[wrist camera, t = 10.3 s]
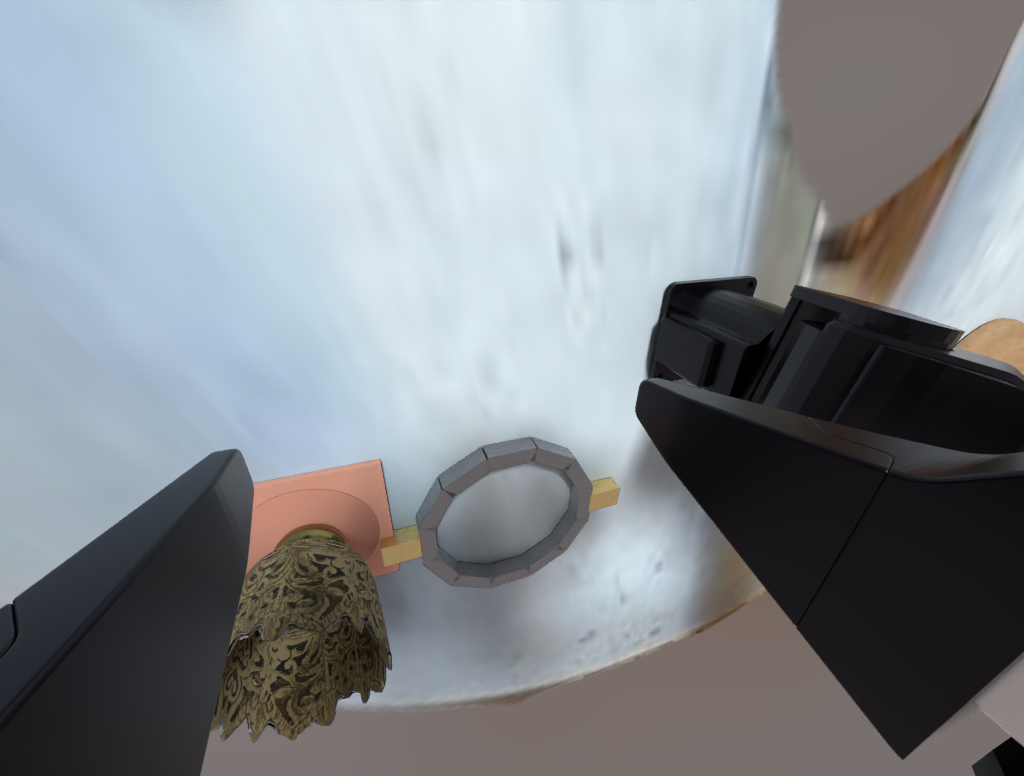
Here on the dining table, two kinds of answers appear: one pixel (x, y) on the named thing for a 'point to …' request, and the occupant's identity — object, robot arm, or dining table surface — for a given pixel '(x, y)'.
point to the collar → (465, 473)
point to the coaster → (325, 510)
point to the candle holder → (998, 342)
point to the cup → (302, 637)
